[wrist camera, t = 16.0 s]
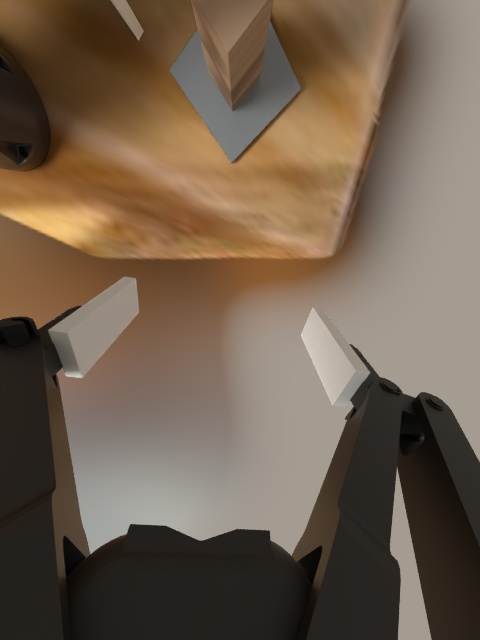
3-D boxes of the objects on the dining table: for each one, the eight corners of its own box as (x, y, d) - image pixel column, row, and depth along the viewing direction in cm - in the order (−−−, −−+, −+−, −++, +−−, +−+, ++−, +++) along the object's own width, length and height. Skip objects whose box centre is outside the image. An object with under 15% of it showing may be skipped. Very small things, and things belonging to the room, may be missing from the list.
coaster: (231, 163, 33) (231, 162, 33) (170, 73, 28) (169, 70, 27) (299, 90, 29) (301, 88, 28) (242, -32, 24) (242, -39, 23)
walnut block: (259, 79, 28) (274, -10, 16) (232, 111, 30) (227, 53, 18) (236, 35, 26) (233, -104, 14) (208, 72, 28) (184, -24, 16)
